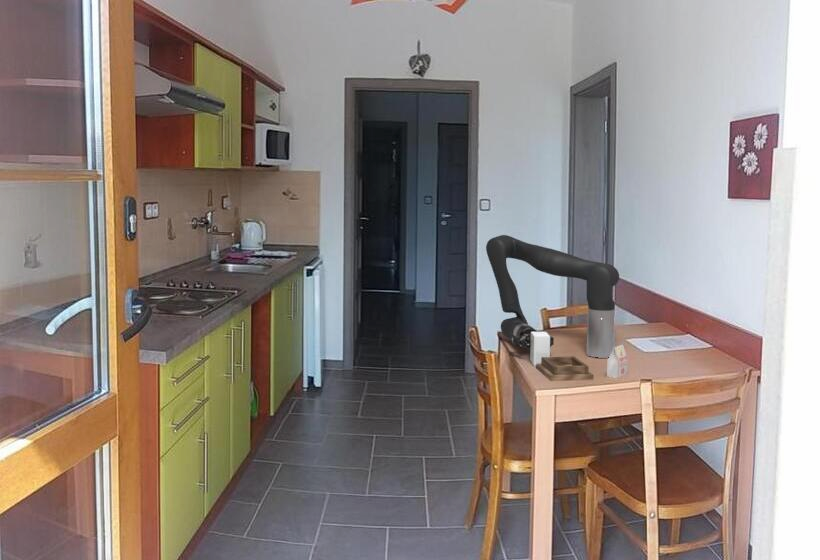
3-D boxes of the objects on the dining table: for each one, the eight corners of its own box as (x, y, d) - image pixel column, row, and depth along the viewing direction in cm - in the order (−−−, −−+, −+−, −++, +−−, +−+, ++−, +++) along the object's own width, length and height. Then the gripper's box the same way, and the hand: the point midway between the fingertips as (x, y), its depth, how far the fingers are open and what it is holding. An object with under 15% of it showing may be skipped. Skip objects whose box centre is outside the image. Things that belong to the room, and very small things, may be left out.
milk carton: (606, 377, 234) (608, 347, 233) (616, 373, 239) (617, 343, 238) (617, 379, 232) (618, 348, 230) (626, 375, 237) (628, 345, 235)
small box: (549, 366, 248) (550, 336, 246) (533, 366, 248) (534, 336, 246) (545, 360, 256) (546, 331, 254) (529, 360, 256) (530, 331, 254)
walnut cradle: (576, 366, 247) (576, 355, 247) (593, 379, 231) (593, 367, 231) (536, 367, 246) (536, 356, 245) (550, 380, 230) (551, 368, 229)
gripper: (507, 325, 268) (518, 334, 252) (544, 324, 269) (558, 333, 253) (506, 345, 269) (517, 355, 253) (544, 344, 270) (557, 354, 254)
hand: (538, 344), depth 253 cm, fingers open, 8 cm apart
